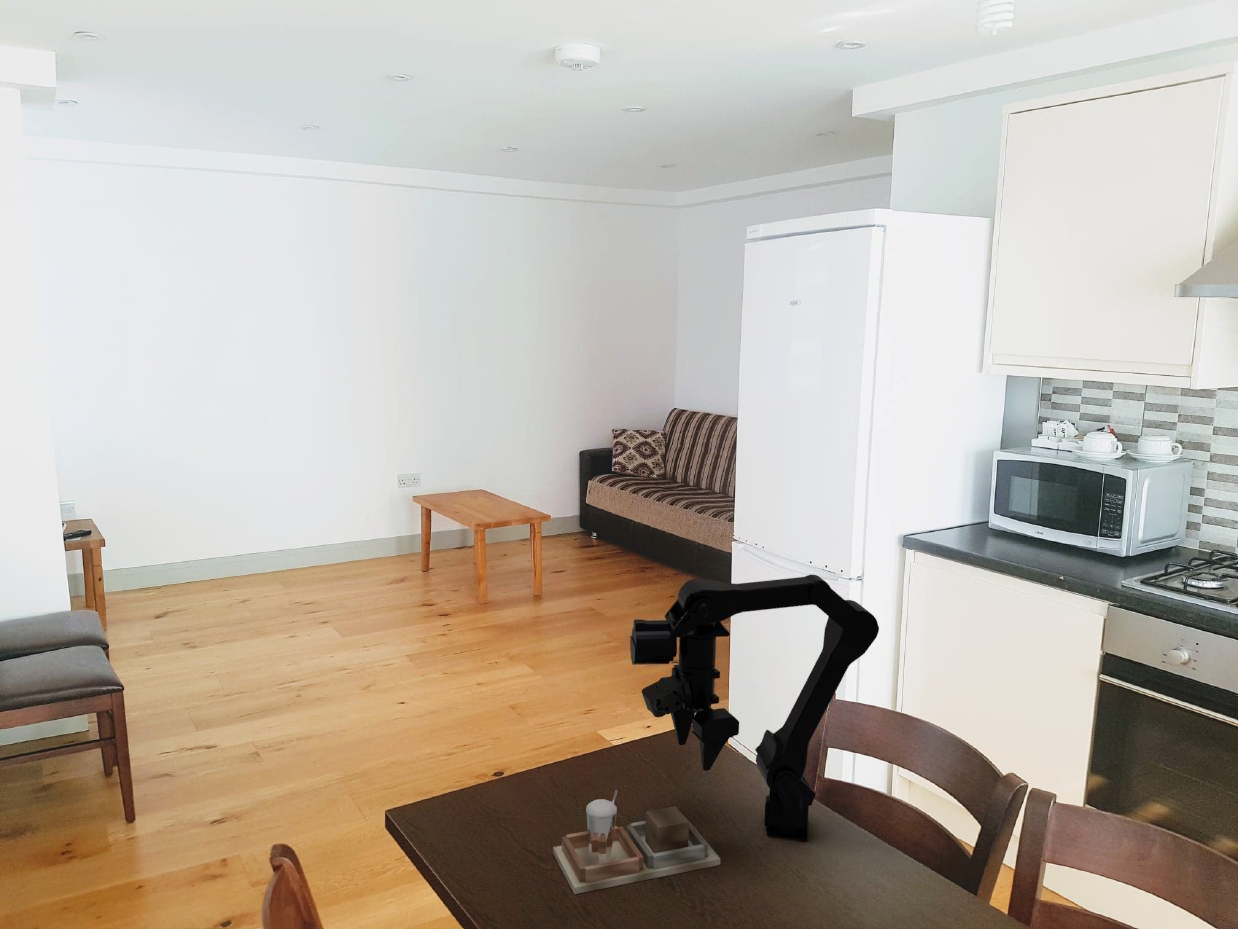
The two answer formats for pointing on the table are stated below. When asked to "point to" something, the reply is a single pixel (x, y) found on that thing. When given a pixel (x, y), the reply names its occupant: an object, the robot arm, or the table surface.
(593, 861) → the milkshake
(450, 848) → the table surface
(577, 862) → the grey-brown divided tray
